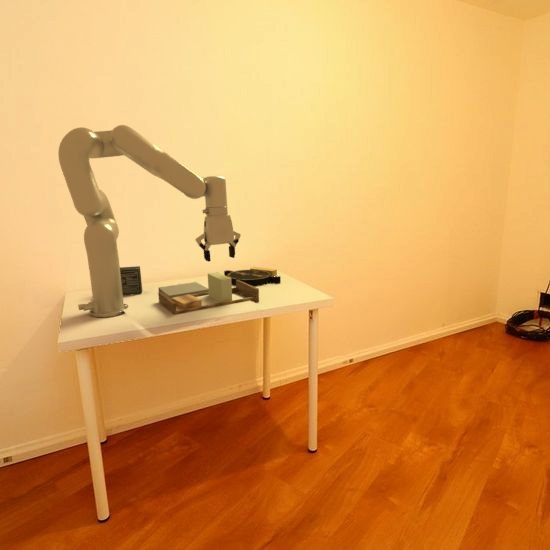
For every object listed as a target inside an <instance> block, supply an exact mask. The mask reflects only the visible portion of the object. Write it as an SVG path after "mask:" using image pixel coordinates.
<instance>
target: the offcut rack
mask: <svg viewBox="0 0 550 550" xmlns="http://www.w3.org/2000/svg"><path fill="white" fill-rule="evenodd" d="M259 289H260V288H258V287H257V286H251V285H249V284H247V283H245V282H242V281H240V280H236V285H235V287H232V294H235V293H237V292H238V294H239V293H240V294H239V295H241V294H242V296H244V297H243V298H238V299H234V300H233V299H232V301H227V302H222V303H221V302H217V303H212V304H207V305H202V306H200V307H195V308H189V309H184V310H180V309H179V310H177V307H176V303H175V302H174V301H173V300H172V298H169V297H167V296H166V295H165V294H163V293H162V292H159V291H158V293H157V294H158V302H159V304H160V305H162V306H163V307H164V308H165V309H166V310H167V311H169V313H172V315H173V316H174V315H179V314H185V313H191V312H196V311H200V310H206V309H212V308H216V307H222V306H226V305H233V304H237V303H242V302H247V301H250V302H253V303H257V302H258V303H259V302H260V290H259ZM192 296H194V297H196V298H198V297H203V296H209V292H205V293H199V294H193V295H192Z"/></svg>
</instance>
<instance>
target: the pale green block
mask: <svg viewBox="0 0 550 550" xmlns="http://www.w3.org/2000/svg"><path fill="white" fill-rule="evenodd" d="M207 284H208V285H207V288H208V290H209V295H208V296H209V297H210V298H212V299H213V300H216V301H218V303H222V302H227V301H232V300H233V293H232V288H233V285H232V282H231V278H229V277H227V276H225V275H224V273H220V272H210V273H209V272H208V273H207Z"/></svg>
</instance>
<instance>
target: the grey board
mask: <svg viewBox="0 0 550 550" xmlns="http://www.w3.org/2000/svg"><path fill="white" fill-rule="evenodd" d="M157 288H158V292H162V293H163V294H165V295H166V296H167V297H169V298H174V297H179V296H183V295H188V294H190V295H193V294H199V293H205V292H209V290H208V287H206V286H204V285H203V284H201V283H199V282H197V281H193V282H188V283H187V282H186V283H180V284H174V285H172V284H171V285H167V286H159V287H157Z"/></svg>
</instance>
